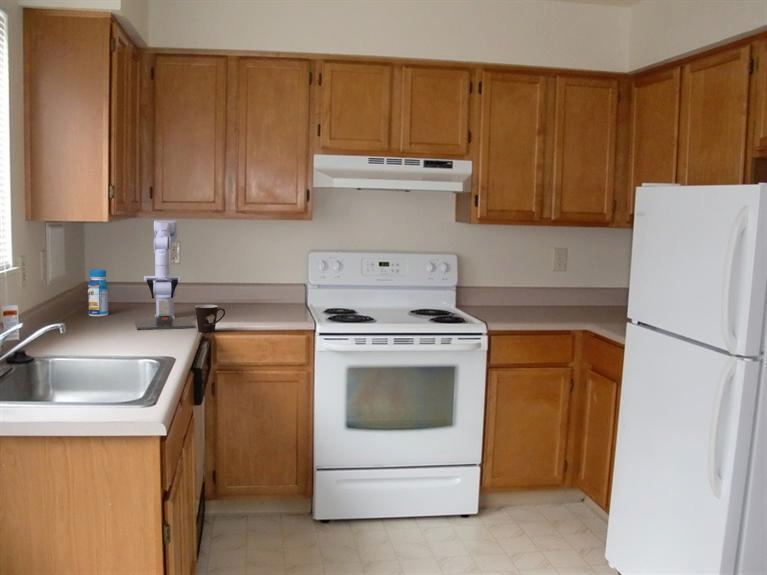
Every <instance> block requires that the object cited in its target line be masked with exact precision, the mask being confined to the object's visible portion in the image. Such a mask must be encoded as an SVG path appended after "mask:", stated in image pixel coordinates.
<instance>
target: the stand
mask: <svg viewBox="0 0 767 575" xmlns="http://www.w3.org/2000/svg"><path fill="white" fill-rule="evenodd" d="M133 320H134V325H135V328H136V330H137V331H150V330H151V331H152V330H154V331H155V330H182V329H195V328H196V326H195V324H194V323H193V321H192V319H190V318H189V317H175V318H172V316H171V315H169V316H156V318H140V319H139V318H137V319H133Z"/></svg>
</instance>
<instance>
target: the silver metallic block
mask: <svg viewBox="0 0 767 575" xmlns="http://www.w3.org/2000/svg"><path fill="white" fill-rule="evenodd" d="M159 316H169V300H159Z"/></svg>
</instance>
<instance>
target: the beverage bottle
mask: <svg viewBox="0 0 767 575" xmlns="http://www.w3.org/2000/svg"><path fill="white" fill-rule="evenodd" d="M106 277H107V270H106V269H100V268H99V269H96V268H95V269H90V270H89V278H90V280H89V281H88V284H87V287H88V290H87V295H88V316H90V317H105V316H108V315H109V289H108V286H109V284H108V282H107V280H106Z"/></svg>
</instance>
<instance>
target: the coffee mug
mask: <svg viewBox="0 0 767 575" xmlns="http://www.w3.org/2000/svg"><path fill="white" fill-rule="evenodd" d="M194 308H195V315H196V323H197V332H198V333H202V334H203V333H204V334H207V333H208V334H209V333H210V334H212V333H215V332H216V325H217V323H218V322H220V321H221V320H222V319H223V318H224V316H225V315H226V311H225V308H222V307H218V305H216V304H198V305H197V304H196V305H195V306H194ZM219 311H223V313H222V316H221V317H220V318H219V319H217V317H218V312H219Z"/></svg>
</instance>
